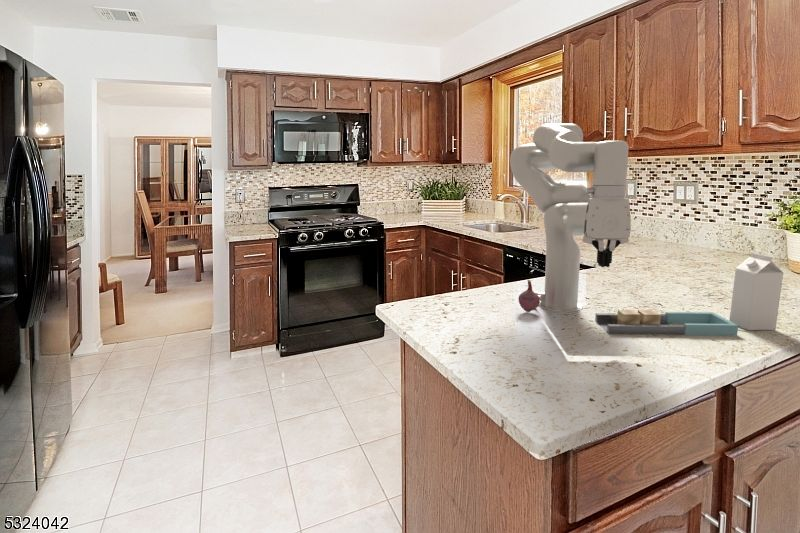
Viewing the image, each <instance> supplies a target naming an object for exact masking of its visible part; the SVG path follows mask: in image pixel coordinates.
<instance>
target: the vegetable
mask: <svg viewBox="0 0 800 533" xmlns="http://www.w3.org/2000/svg"><path fill="white" fill-rule="evenodd" d="M535 292H536V291H534V290H533V286H532V281H531V280H530V278H529V279H527V289H526V290H524V291H522V292H521V293H520V294H519V296H518V303H519V306H520V307H521V308H522V309H523V311H525V312H526V313H530V312H532V311H534V310H537V308H538V307H540V306H539V303H540V302H541V301H540V299H539V296H538V295H537V294H536V293H535Z"/></svg>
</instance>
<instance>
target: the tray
mask: <svg viewBox="0 0 800 533" xmlns="http://www.w3.org/2000/svg"><path fill="white" fill-rule="evenodd" d="M664 314H666V315H668V321H667V323H668V324H670V323H673V324H674V323H676V324H677V323H679V324H680V323H681V324H683V325H684V326H685V327H686V331H685V335H684V336H738V330H739V326H738V325H736V324H735V323H733V322H731V321H729V320H730V319H726V318H725V317H723V316H721V315H719V314H717V313H715V312H712V311H711V312H710V311H709V312H708V311H707V312H705V311H703V312H701V311H699V312H698V311H694V312H692V311H689V312H688V311H665V313H664Z"/></svg>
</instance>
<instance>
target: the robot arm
mask: <svg viewBox="0 0 800 533" xmlns="http://www.w3.org/2000/svg"><path fill="white" fill-rule="evenodd" d="M532 142H533V143H527V144H521V145H518V146H517V147H515V148H514V149H512V152H511V153H510V157H509V164H510V170H511V173H512V175H513V178H514V179H515V181H516V183H518V184H519V185H520V186H521V187H522V189H524V190H525V192H526V193H527V194H528V196H529V197H530V199H531V200H532V202H533V203H534V205H535V206H536V207H537V208H538V210H539V211H540V212H541V214H544V215H543V224H544V230H545V231H544V232H545V243H546V244H545V248H546V249H545V274H544V275H545V277H544V291H543V292H540V291H534V292H535V293H536V294H537V295H538V296H539V299H540V303H539V306H538V307H539V308H542V309H544V310H547V311H552V312H559V313H560V312H561V313H575V312H580V311H581V310H583V309H584V306H583V305H582V304H581V303H579V301H578V298H579V284H580V283H579V282H580V281H579V280H580V264H581V262H580V261H581V260H580V259H581V251H580V246H579V244H578V243H577V241H576V240H575V238H574V237H579V236H583V238H582V242H583V243H585V244H589V245H592V246H593V247H594V248H595V249H596V250H597V251H596V263H597V264H598V266H599V267H601V268H605V267H606V268H609V267H610V264H611V263H612V260H613V252H614V251H615V249H616V248H617V247H618V246H619V245H622V244H625V243H626V244H627V243H629V242H630V239H629V238H630V237H631V231H632V230H631V229H632V228H631V227H632V226H631V222H632V221H631V219H632V218H631V206H630V205H631V204H630V199H629V197H628V198H626V192H627V191H626V188H627V174H628V162H629V148H630V147H629V144H628V142H627V141H624V140H604V141H584V133H583V130H582V128H581V127H580V126H579V125H578V124H576V123H572V122H570V123H568V122H567V123H561V122H560V123H558V122H557V123H556V122H555V123H554V122H553V123H551V122H549V123H545V124H544V123H543V124H541V125H539V126H538V127H537V128H536V129H535V131H534V132H533V136H532ZM553 170H560V171H563V172H567V173H588V172H589V173H592V175H593V176H592V185H591V187H589V188H587V187H586V186H585V185H583V184H581V183H559V182H558V183H557V182H556V181H555V180H554V179H553V178H552V177H551V175H549V174H548V173H546V172H544V171H553ZM604 240H606V245H605V244H604V243H605V242H604Z"/></svg>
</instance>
